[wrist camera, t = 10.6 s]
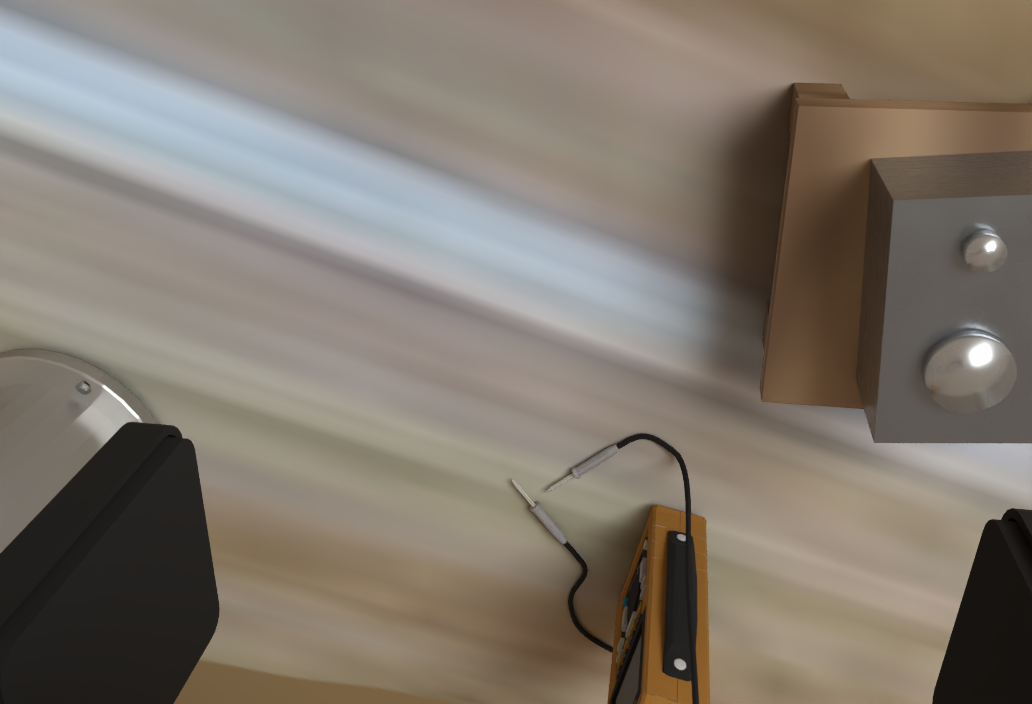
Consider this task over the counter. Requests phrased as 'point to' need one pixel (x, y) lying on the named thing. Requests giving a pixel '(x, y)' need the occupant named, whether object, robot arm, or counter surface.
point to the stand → (849, 224)
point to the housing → (948, 299)
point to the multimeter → (655, 602)
